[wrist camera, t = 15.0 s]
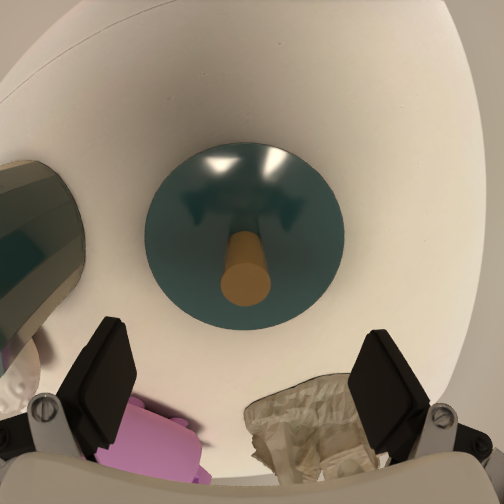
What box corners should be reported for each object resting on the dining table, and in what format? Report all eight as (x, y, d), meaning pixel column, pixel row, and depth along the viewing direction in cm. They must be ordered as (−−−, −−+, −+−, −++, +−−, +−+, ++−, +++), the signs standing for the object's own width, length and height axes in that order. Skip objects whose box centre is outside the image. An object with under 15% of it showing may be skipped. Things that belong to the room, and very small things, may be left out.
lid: (122, 265, 20) (88, 309, 14) (216, 103, 16) (203, 85, 10) (266, 345, 24) (272, 398, 18) (373, 219, 19) (417, 250, 14)
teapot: (234, 429, 30) (234, 515, 18) (191, 455, 33) (185, 521, 22) (88, 361, 25) (46, 450, 13) (73, 401, 28) (45, 468, 17)
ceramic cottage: (228, 403, 27) (238, 527, 13) (371, 351, 25) (430, 469, 12) (273, 446, 34) (288, 529, 20) (376, 409, 32) (410, 489, 19)
